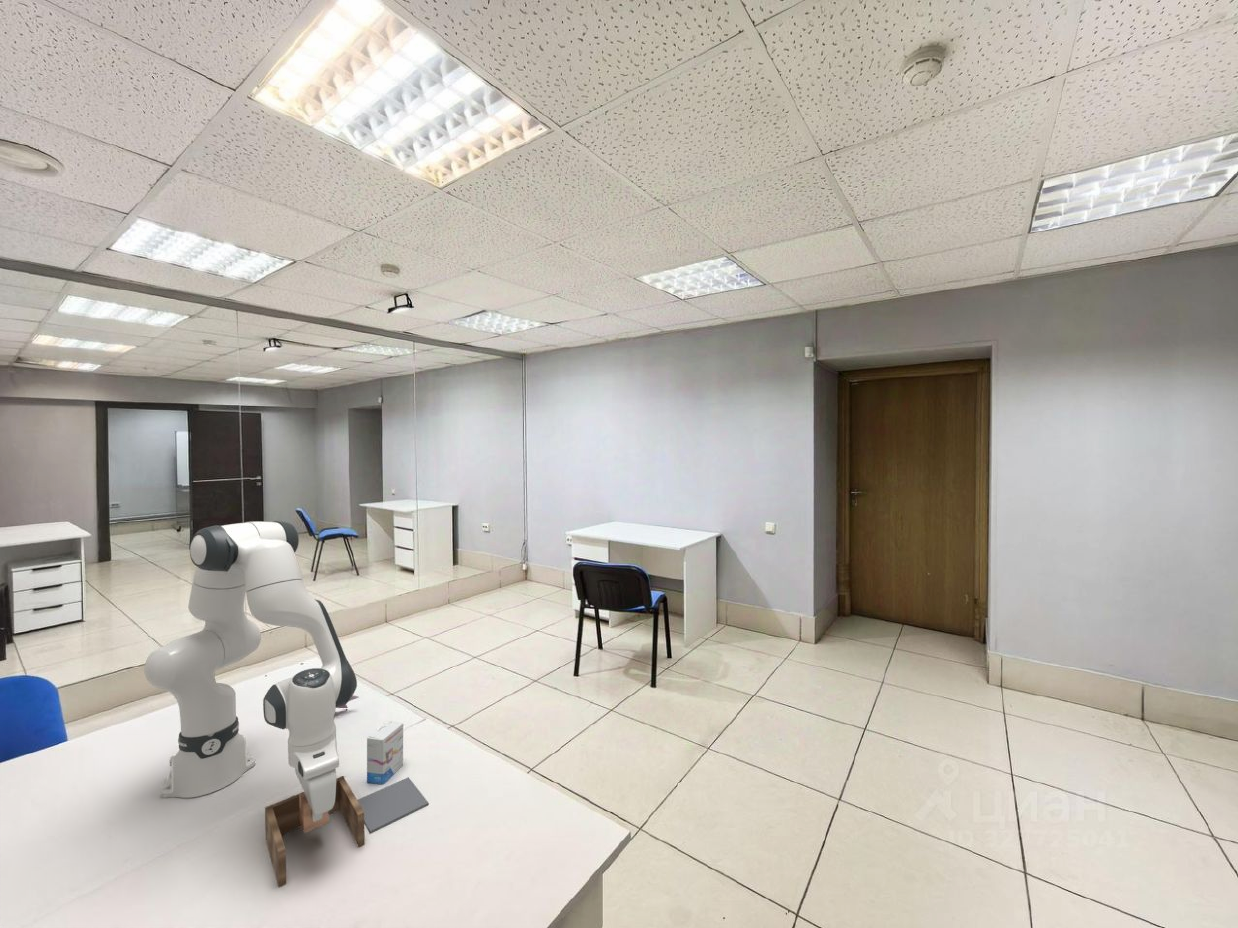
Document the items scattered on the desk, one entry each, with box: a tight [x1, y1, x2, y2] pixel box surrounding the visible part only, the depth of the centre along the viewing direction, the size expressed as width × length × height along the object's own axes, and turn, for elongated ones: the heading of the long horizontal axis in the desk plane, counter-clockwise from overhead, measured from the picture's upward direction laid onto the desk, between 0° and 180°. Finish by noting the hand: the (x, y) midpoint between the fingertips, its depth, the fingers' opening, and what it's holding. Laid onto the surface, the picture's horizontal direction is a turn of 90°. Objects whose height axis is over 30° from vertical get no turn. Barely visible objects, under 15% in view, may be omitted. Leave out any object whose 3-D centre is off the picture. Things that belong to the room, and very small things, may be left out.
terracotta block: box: [298, 792, 329, 834], centre depth 107 cm, size 4×4×6 cm
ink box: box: [366, 720, 404, 785], centre depth 130 cm, size 9×5×12 cm, turn 168°
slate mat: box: [357, 776, 430, 834], centre depth 119 cm, size 13×13×1 cm
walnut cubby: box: [264, 775, 366, 888], centre depth 107 cm, size 17×15×7 cm
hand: (313, 811), depth 107 cm, fingers closed on terracotta block, 4 cm apart
